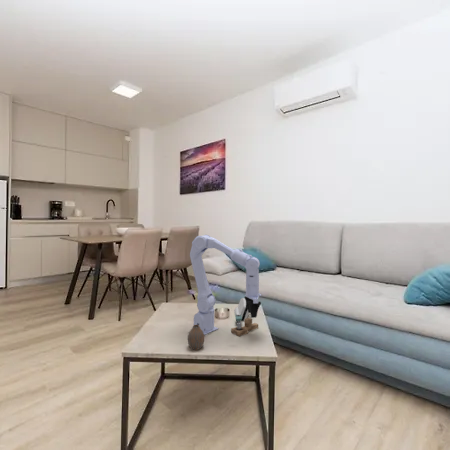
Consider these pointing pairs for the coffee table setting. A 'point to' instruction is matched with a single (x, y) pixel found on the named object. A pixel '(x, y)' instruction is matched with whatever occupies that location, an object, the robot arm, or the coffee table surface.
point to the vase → (196, 337)
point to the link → (245, 327)
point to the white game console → (242, 309)
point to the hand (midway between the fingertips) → (252, 314)
